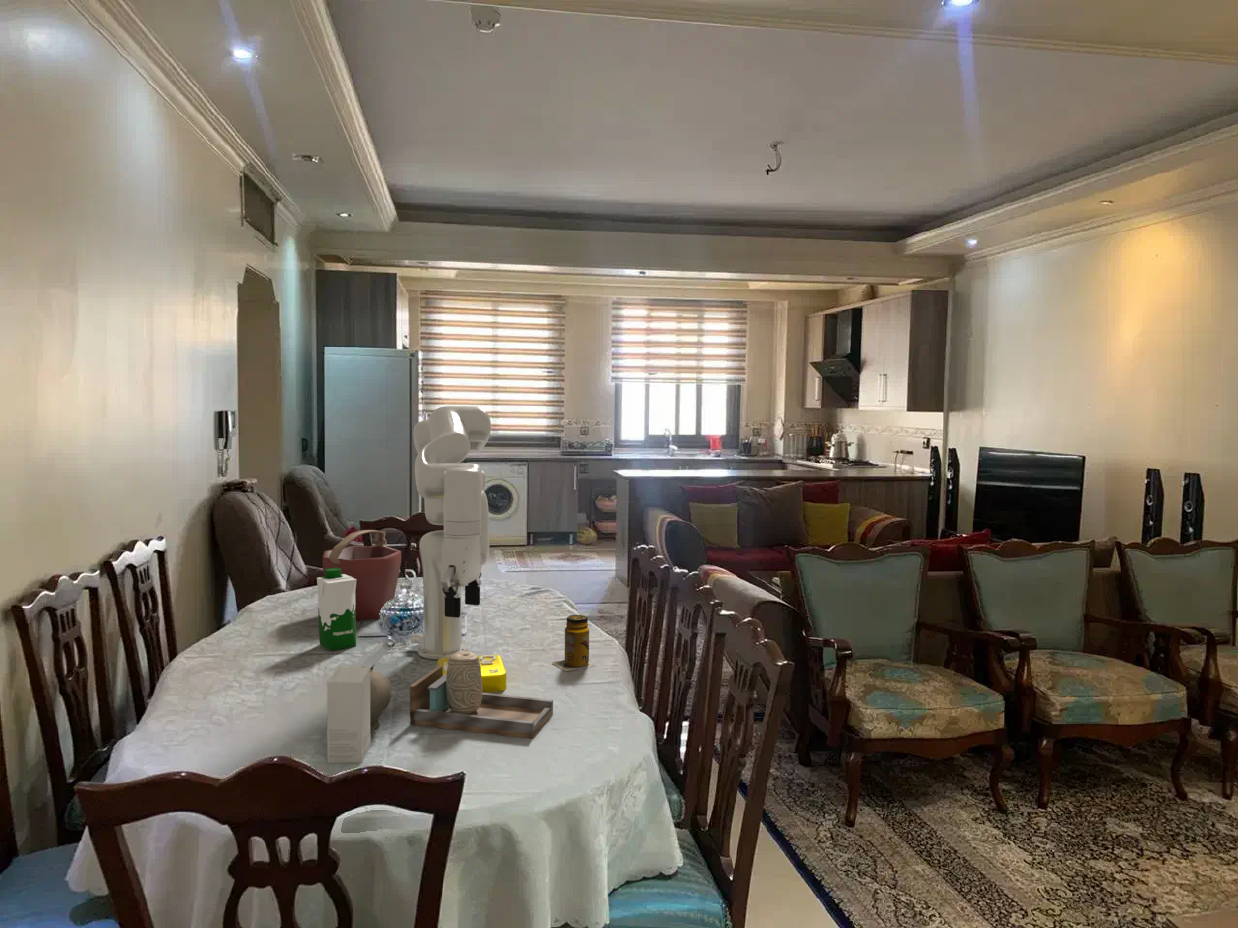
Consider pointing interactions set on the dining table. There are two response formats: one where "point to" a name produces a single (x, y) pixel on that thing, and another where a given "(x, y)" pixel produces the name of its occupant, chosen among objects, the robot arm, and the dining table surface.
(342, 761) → the skincare box
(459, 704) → the carving
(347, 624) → the milk carton
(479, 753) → the dining table surface
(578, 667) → the condiment
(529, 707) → the pusher lane
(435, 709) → the pusher plate
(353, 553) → the bucket
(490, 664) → the yellow rounded box
